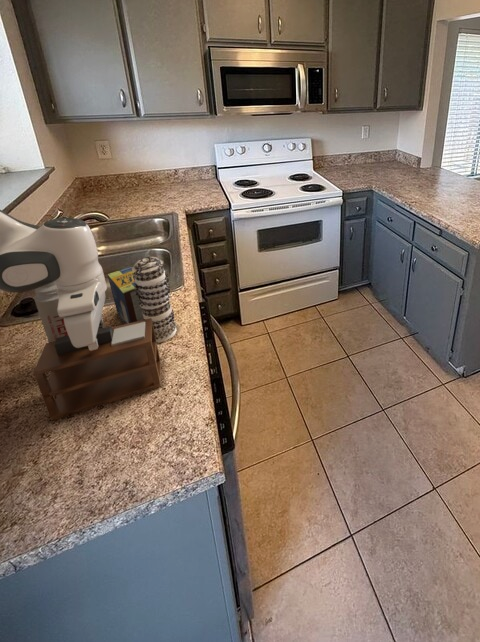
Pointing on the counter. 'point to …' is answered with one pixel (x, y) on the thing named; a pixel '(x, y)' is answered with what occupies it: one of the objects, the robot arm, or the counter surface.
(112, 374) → the box
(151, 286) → the decorative candle
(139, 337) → the spatula
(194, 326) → the counter surface
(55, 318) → the thermos bottle
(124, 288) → the protein box
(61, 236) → the robot arm
